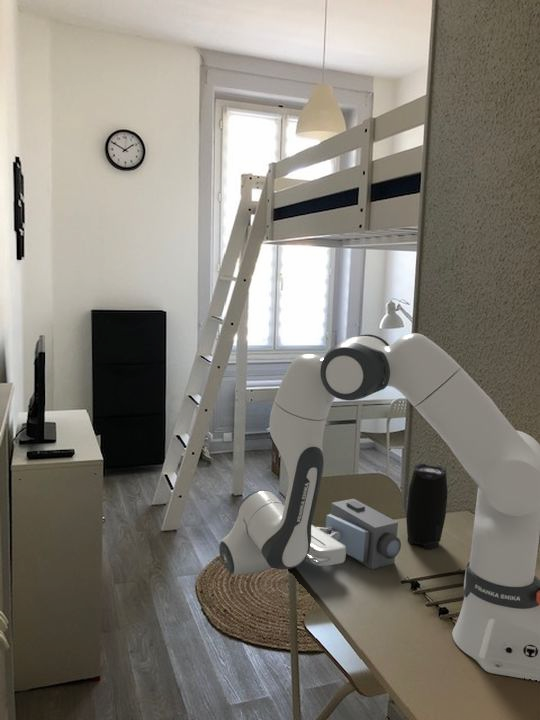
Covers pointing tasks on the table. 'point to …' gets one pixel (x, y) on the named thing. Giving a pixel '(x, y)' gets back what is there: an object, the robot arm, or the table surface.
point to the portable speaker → (426, 505)
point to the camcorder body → (371, 530)
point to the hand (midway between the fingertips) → (335, 532)
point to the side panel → (351, 537)
